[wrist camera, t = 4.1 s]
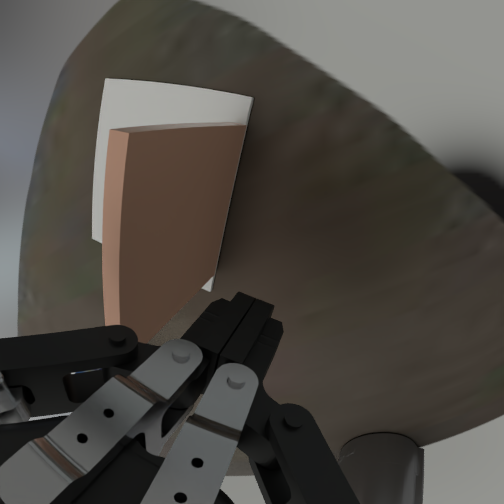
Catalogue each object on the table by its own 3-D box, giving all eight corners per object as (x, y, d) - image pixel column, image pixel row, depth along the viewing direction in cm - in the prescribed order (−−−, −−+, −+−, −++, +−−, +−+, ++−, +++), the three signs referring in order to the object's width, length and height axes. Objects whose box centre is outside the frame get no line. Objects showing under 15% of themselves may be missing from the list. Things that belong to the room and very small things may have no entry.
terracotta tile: (246, 125, 20) (129, 133, 10) (214, 274, 26) (122, 367, 15) (232, 121, 21) (107, 128, 10) (202, 269, 26) (107, 358, 16)
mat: (253, 97, 20) (252, 97, 20) (212, 289, 27) (210, 291, 27) (108, 78, 23) (105, 78, 23) (94, 237, 30) (92, 238, 30)
